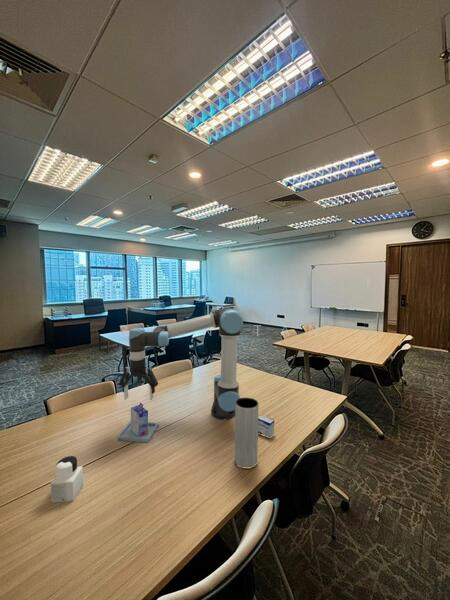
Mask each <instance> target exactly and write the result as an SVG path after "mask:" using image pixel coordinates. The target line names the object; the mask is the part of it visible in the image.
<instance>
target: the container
mask: <svg viewBox="0 0 450 600" xmlns="http://www.w3.org/2000/svg"><path fill="white" fill-rule="evenodd" d="M55 465H56V466H55V469H56V475H55V476H54V478H53V479H52V480H51V482H50V499H51V500H50V501H51V503H64V502H74V501H75V499H76V498H77V496H78V494H79V493H80V491H81V489H82V487H83V486H84V467H83V466H82V465H81V466H78V458H77V456H74V455H68V456H66V457H63V458H61V459H60V460H59V461H58V462H57V463H56V464H55Z"/></svg>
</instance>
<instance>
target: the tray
mask: <svg viewBox="0 0 450 600" xmlns="http://www.w3.org/2000/svg"><path fill="white" fill-rule="evenodd" d="M158 428H159V422H151V421H148V434H146V435H143V436H140V437H138V436H137V435H136V434H135V433H134V432H133V431H132V430H131V420H130V421H129V422H128V423H127V424H126V426H125V427H124V428H123V429H122V430H121V432H119V433H118V435H117V437H116V438H117V439H116V440H117V441H121V442H134V443H135V442H136V443H149V442H150V441H151V439H152V438H153V436H154V434H155V433H156V431H157V430H158Z"/></svg>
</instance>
